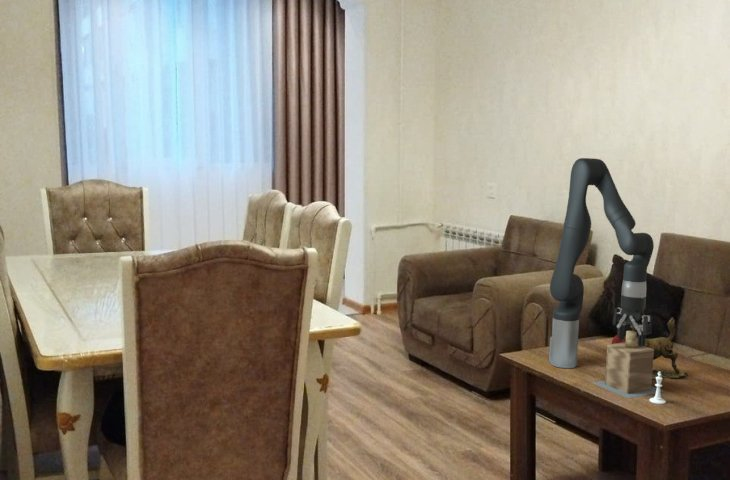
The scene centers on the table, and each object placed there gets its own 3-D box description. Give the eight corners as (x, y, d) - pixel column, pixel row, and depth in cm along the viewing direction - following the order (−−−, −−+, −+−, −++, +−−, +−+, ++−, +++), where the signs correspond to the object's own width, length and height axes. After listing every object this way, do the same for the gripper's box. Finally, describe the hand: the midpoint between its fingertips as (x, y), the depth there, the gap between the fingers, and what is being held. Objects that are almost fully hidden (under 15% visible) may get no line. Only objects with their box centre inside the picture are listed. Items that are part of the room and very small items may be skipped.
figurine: (610, 370, 264) (613, 314, 262) (678, 370, 266) (681, 314, 264) (626, 380, 251) (630, 321, 249) (697, 380, 253) (701, 322, 251)
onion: (608, 350, 289) (609, 330, 288) (620, 349, 291) (621, 329, 290) (617, 355, 284) (618, 334, 283) (630, 353, 285) (631, 333, 284)
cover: (604, 384, 247) (608, 329, 245) (627, 380, 252) (631, 326, 249) (628, 393, 238) (631, 337, 236) (651, 389, 243) (655, 334, 240)
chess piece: (661, 399, 234) (663, 369, 233) (668, 405, 230) (670, 374, 228) (646, 399, 234) (648, 369, 233) (653, 405, 229) (655, 374, 228)
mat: (592, 384, 249) (592, 382, 249) (627, 378, 256) (627, 376, 256) (628, 399, 235) (628, 397, 235) (664, 392, 242) (664, 391, 242)
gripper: (608, 290, 246) (606, 338, 248) (642, 299, 233) (639, 349, 235) (625, 289, 249) (622, 336, 251) (659, 297, 236) (656, 347, 238)
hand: (630, 342), depth 243 cm, fingers open, 8 cm apart
